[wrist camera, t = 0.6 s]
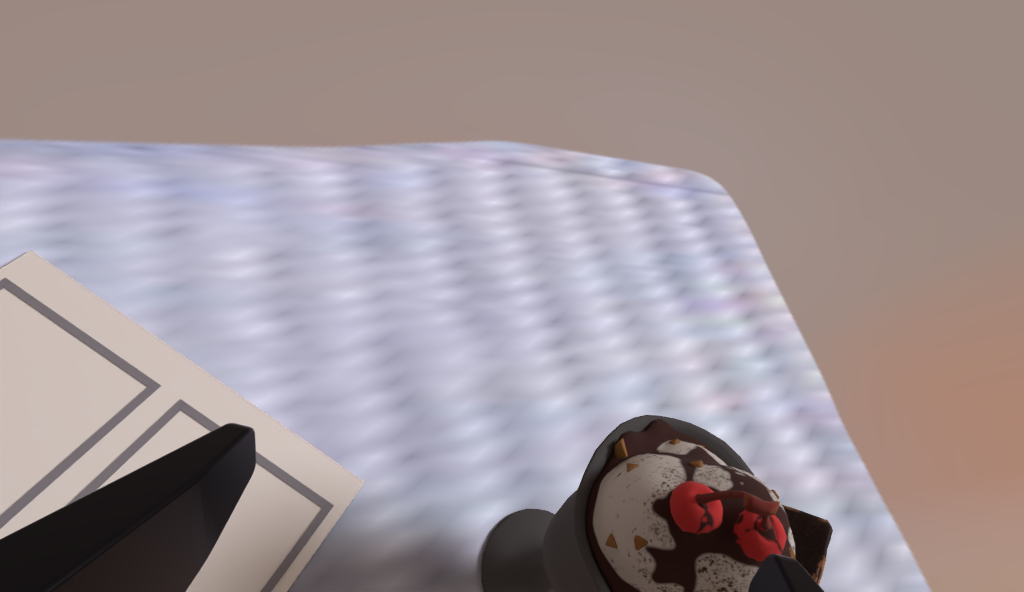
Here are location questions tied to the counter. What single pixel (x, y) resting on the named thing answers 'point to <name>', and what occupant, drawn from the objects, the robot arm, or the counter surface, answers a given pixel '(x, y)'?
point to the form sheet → (142, 428)
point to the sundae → (655, 522)
